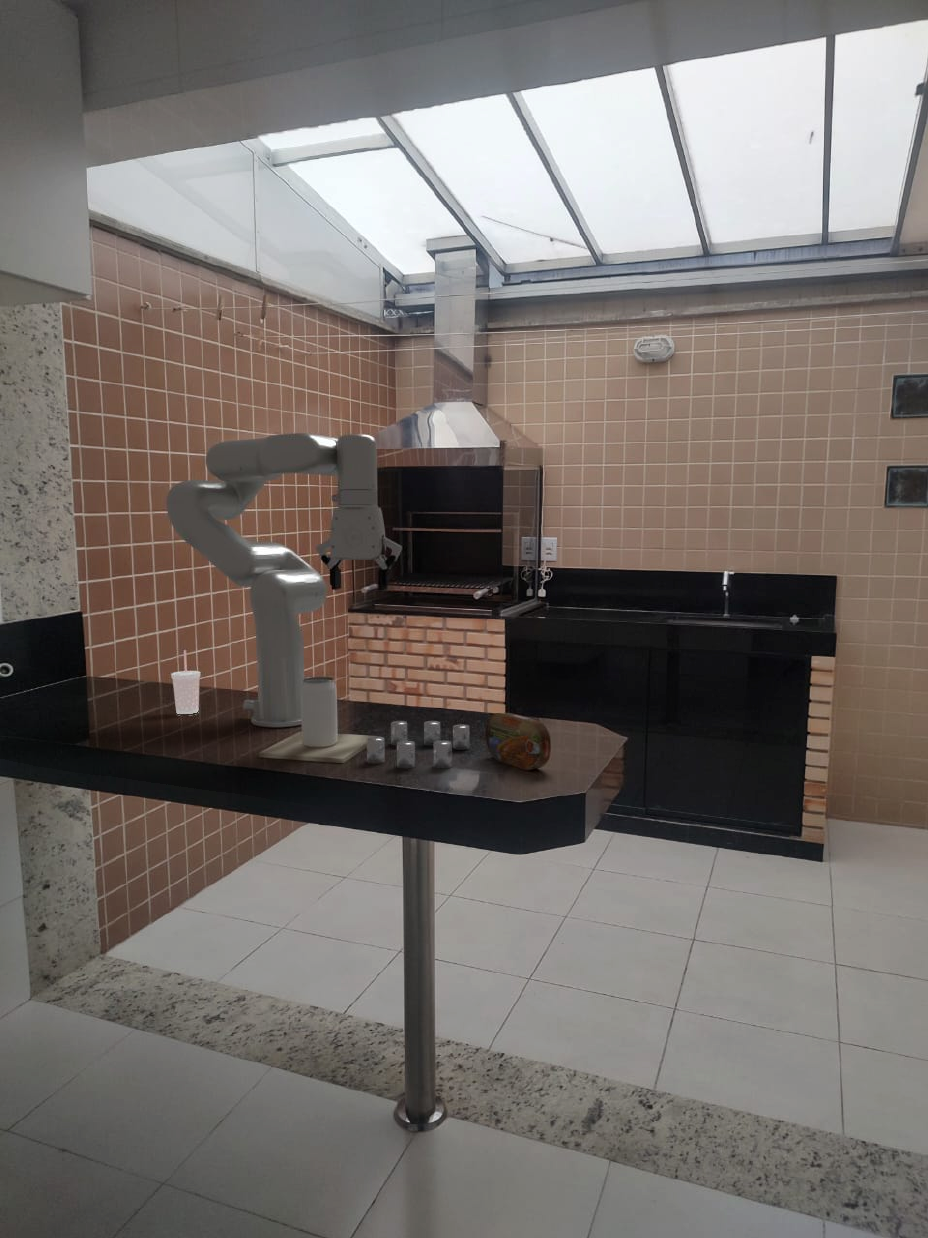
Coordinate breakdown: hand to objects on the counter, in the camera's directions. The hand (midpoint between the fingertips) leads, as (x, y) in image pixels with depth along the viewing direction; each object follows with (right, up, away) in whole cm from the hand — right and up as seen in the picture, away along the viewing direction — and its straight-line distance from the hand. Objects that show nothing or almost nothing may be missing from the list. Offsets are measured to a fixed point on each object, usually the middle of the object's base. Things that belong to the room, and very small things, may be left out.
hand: (359, 589), depth 157 cm
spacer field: (+12, -30, -13) cm, 35 cm away
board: (-6, -29, -9) cm, 31 cm away
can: (-6, -29, -9) cm, 31 cm away
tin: (+29, -31, -19) cm, 47 cm away
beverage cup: (-41, -27, +21) cm, 53 cm away
